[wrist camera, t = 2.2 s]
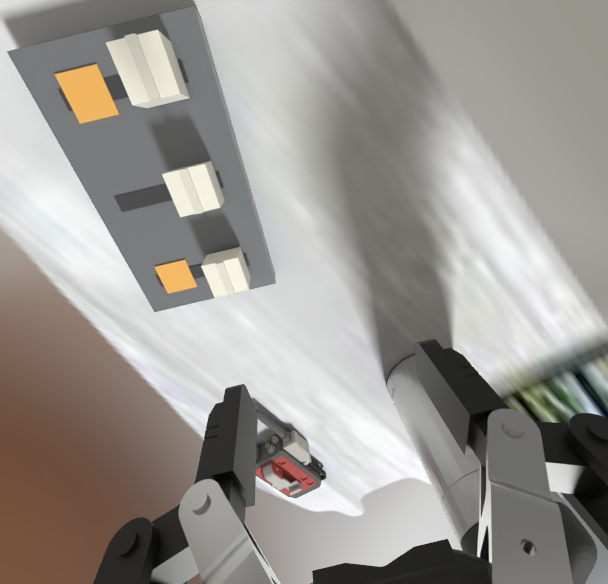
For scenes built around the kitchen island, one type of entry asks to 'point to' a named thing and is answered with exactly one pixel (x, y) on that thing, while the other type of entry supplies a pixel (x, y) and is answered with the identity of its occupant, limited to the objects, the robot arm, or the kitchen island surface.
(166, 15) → the switch panel
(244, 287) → the tab back
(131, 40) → the tab front
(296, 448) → the walkie-talkie
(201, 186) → the tab middle
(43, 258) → the kitchen island surface
